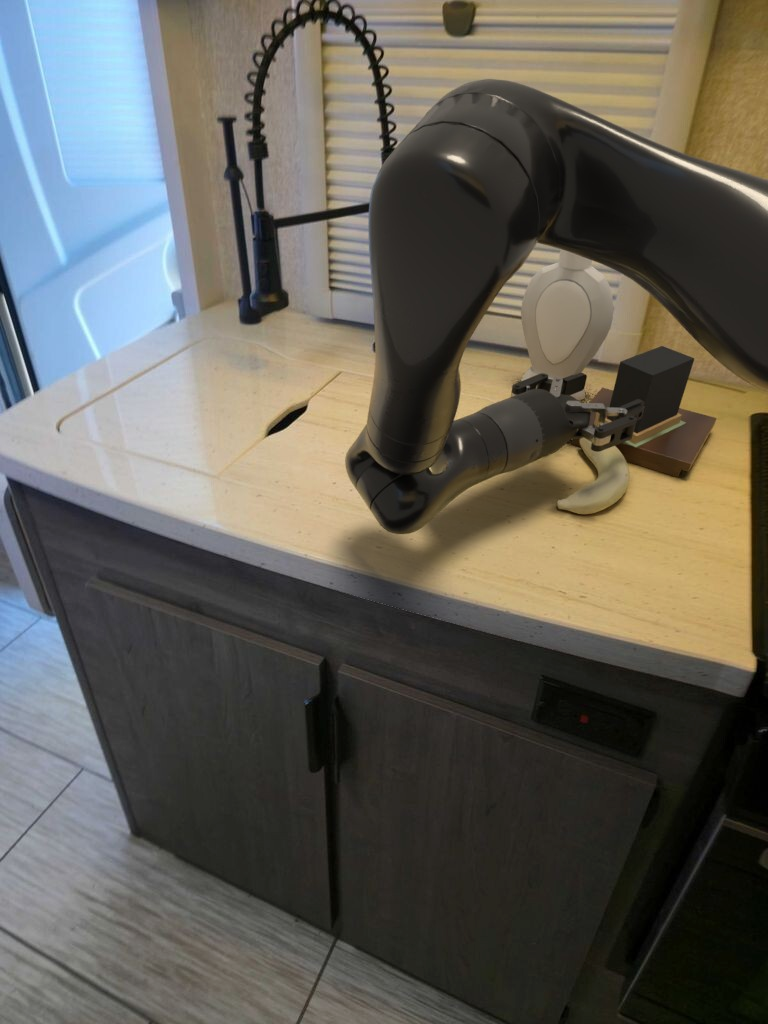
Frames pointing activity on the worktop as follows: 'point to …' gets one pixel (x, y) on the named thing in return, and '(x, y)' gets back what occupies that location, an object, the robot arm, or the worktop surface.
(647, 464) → the wooden base
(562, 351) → the soap bottle
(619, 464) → the fruit
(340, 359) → the worktop surface
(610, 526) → the worktop surface
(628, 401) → the matte black box
